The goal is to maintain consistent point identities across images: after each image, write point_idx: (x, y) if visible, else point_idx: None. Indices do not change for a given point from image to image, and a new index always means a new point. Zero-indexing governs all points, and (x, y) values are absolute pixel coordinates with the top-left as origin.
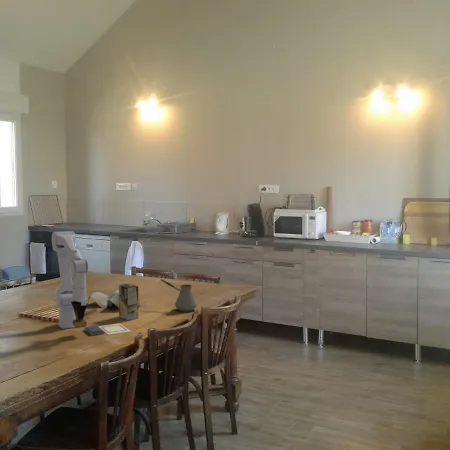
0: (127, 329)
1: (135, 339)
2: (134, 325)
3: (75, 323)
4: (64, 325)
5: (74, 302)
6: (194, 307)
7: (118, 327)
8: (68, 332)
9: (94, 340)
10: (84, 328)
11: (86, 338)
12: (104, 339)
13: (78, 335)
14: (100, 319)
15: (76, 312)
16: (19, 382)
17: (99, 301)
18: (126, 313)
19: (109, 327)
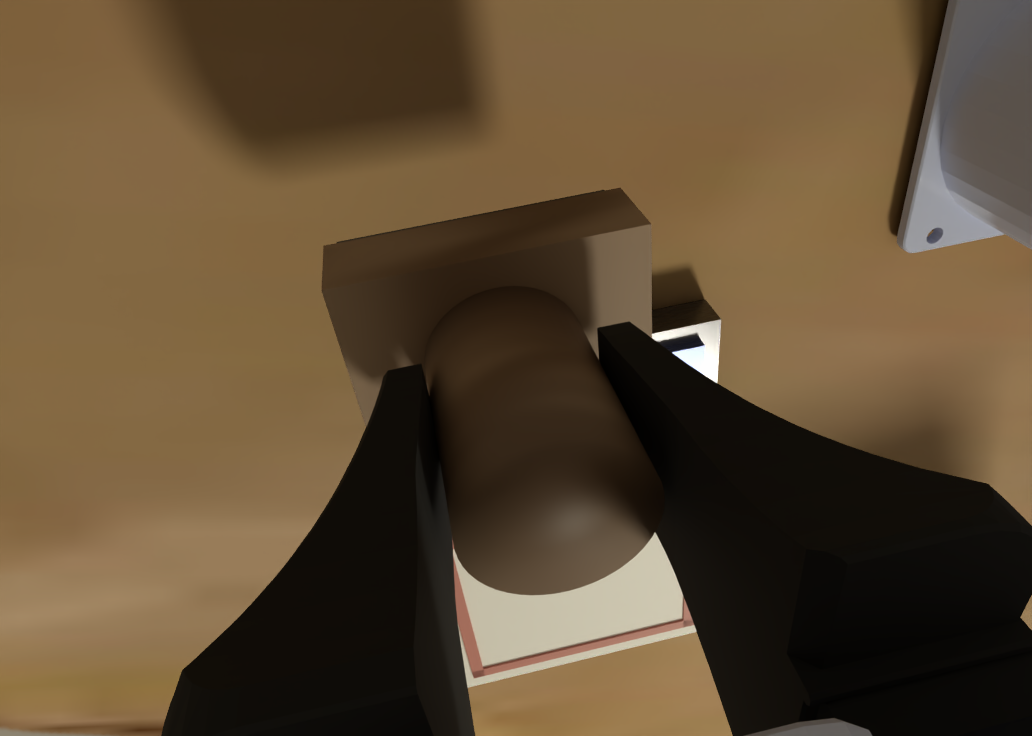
0: (496, 675)
1: (128, 729)
2: (629, 702)
3: (387, 261)
4: (1022, 24)
5: (813, 634)
6: None
7: (604, 616)
8: (704, 57)
9: (126, 399)
10: (704, 315)
11: (256, 305)
12: (165, 503)
13: (461, 204)
14: (1024, 473)
15: (494, 440)
16: None
17: None
18: None
19: (646, 551)
